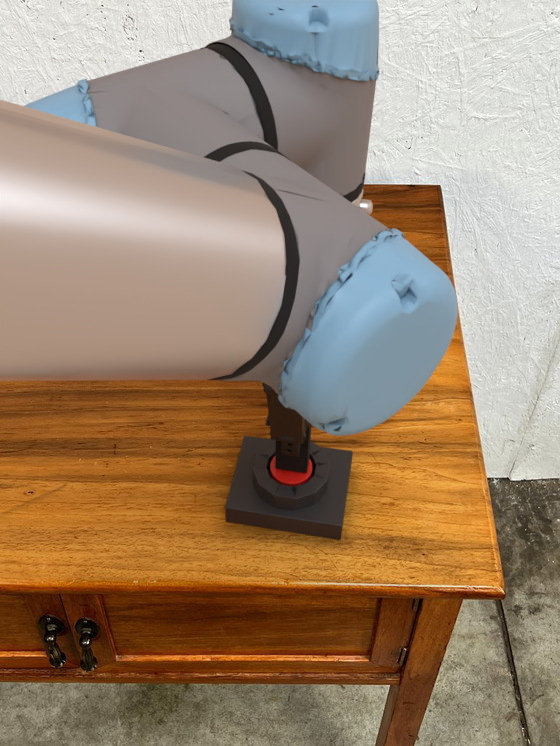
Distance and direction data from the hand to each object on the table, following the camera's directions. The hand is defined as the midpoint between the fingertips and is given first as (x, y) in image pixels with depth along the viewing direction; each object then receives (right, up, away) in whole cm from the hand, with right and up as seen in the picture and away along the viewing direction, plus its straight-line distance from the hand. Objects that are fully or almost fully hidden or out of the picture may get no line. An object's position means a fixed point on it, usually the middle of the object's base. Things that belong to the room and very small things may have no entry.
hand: (292, 463), depth 66 cm
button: (0, -1, +1) cm, 2 cm away
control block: (0, -3, +3) cm, 4 cm away
